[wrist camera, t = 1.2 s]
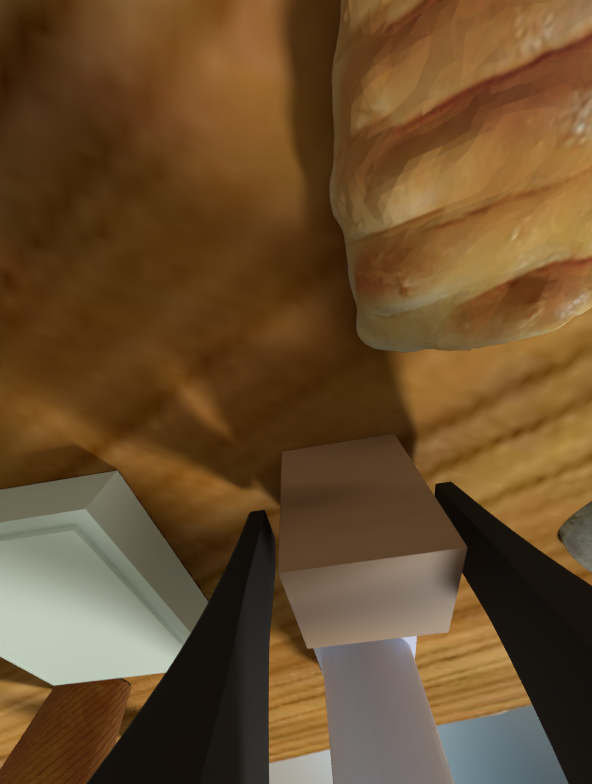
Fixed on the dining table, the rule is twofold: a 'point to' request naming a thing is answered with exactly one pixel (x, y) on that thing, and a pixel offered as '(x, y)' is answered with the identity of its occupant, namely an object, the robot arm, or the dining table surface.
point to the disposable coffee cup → (69, 734)
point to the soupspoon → (579, 536)
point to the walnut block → (365, 544)
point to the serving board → (89, 583)
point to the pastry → (464, 168)
